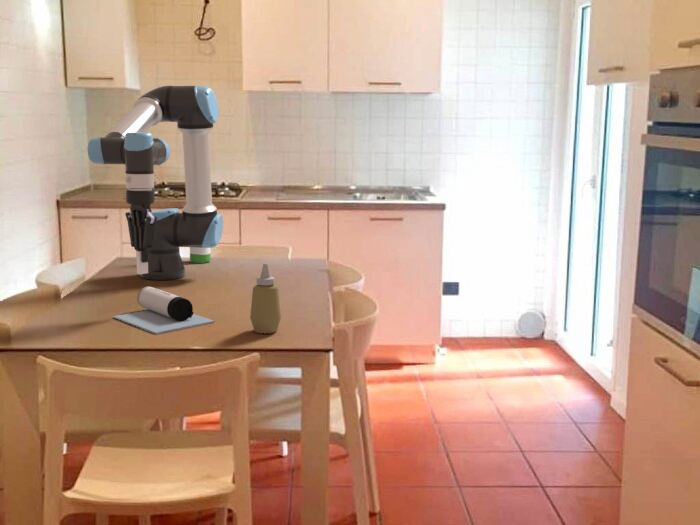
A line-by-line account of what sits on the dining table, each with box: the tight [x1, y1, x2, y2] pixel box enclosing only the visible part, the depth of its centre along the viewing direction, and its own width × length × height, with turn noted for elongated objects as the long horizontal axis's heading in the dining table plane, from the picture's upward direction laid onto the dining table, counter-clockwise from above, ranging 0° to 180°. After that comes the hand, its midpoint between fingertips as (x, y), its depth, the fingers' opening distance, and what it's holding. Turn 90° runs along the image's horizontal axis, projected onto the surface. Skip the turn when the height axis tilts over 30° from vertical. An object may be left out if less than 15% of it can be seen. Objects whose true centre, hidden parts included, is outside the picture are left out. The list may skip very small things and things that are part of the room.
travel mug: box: [137, 286, 195, 321], centre depth 221 cm, size 6×7×20 cm
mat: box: [113, 309, 215, 335], centre depth 217 cm, size 22×18×1 cm
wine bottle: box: [189, 247, 212, 264], centre depth 300 cm, size 8×8×30 cm
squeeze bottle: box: [249, 263, 282, 335], centre depth 206 cm, size 8×8×18 cm
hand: (142, 273), depth 222 cm, fingers closed
